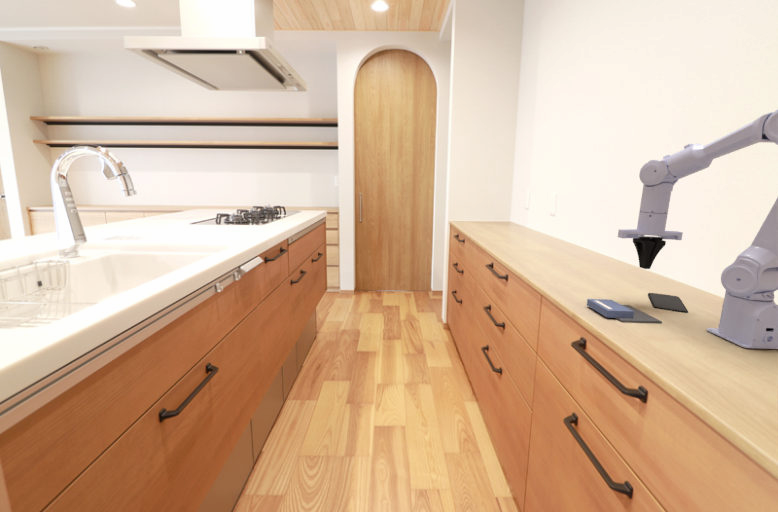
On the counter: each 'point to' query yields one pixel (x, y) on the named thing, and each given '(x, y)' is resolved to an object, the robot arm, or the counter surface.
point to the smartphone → (667, 302)
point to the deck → (610, 308)
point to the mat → (639, 317)
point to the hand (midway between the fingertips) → (644, 268)
